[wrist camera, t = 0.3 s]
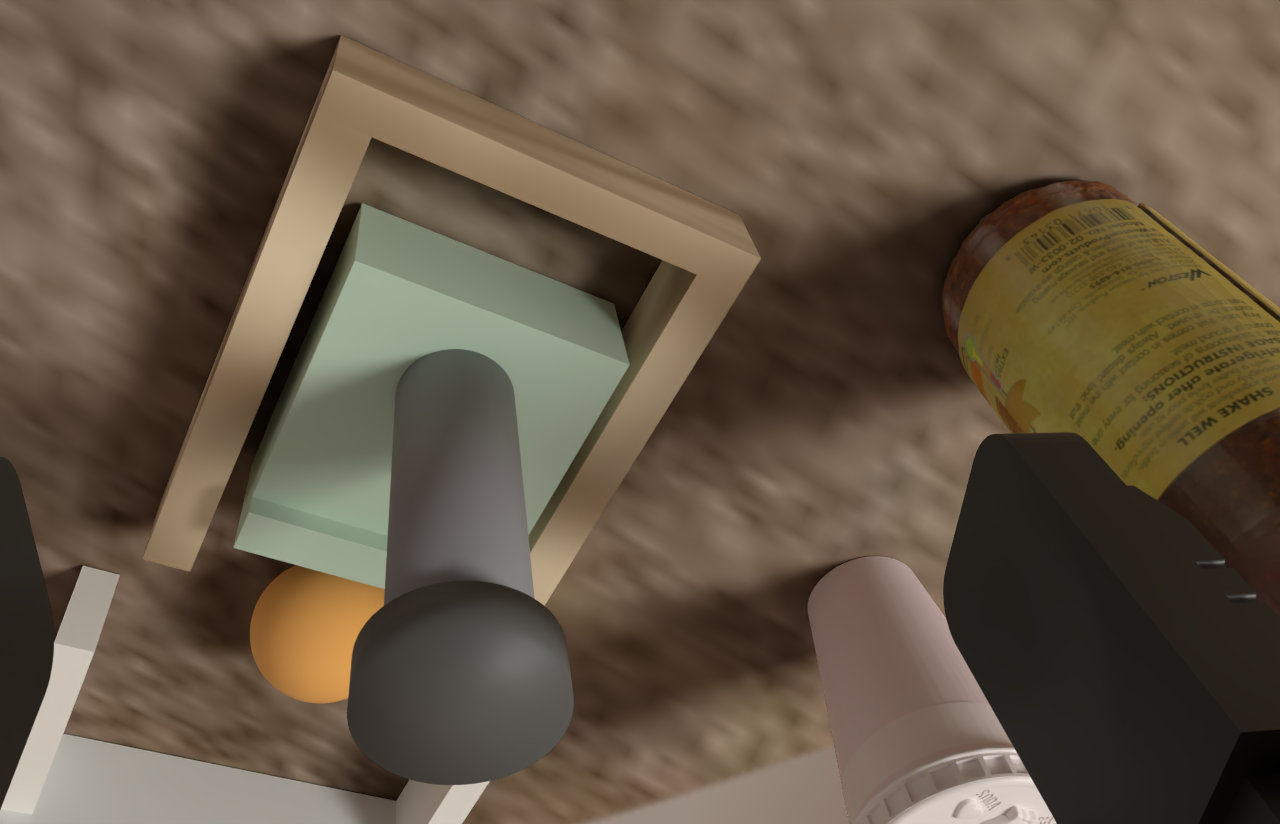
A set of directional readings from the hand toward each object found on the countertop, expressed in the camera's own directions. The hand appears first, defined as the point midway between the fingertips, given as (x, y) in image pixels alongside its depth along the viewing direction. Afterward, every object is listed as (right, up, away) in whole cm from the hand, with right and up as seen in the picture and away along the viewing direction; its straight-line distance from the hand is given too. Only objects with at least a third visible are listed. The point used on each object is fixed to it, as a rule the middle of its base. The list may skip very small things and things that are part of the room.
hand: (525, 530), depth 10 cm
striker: (-5, +2, +21) cm, 21 cm away
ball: (-8, -5, +22) cm, 24 cm away
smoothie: (+8, -5, +28) cm, 30 cm away
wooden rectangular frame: (-5, +2, +21) cm, 21 cm away
